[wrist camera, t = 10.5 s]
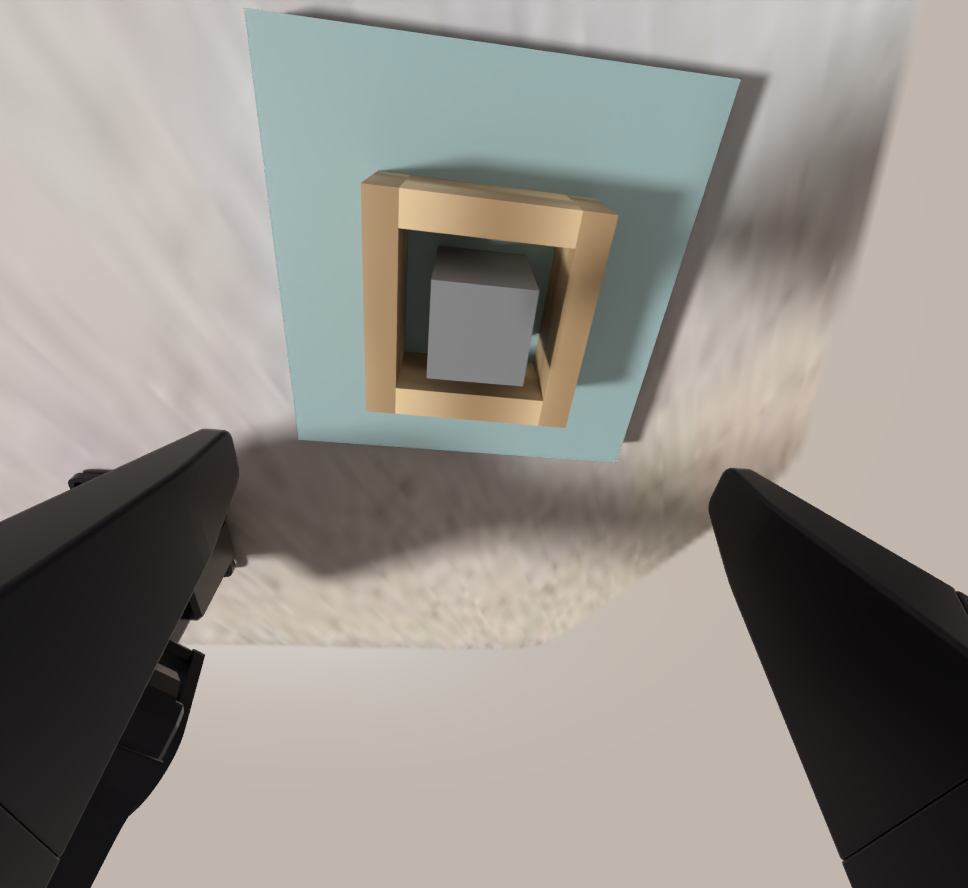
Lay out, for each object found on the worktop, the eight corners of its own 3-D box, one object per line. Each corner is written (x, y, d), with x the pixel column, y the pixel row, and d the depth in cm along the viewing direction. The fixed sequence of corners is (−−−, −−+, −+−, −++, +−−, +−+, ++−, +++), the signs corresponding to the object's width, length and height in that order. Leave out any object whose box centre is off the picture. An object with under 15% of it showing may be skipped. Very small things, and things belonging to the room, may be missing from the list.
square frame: (378, 372, 19) (365, 411, 17) (377, 170, 15) (360, 182, 13) (553, 388, 20) (565, 427, 17) (595, 198, 16) (618, 215, 14)
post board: (308, 421, 22) (266, 501, 18) (263, 16, 14) (169, -25, 10) (608, 444, 23) (642, 525, 19) (719, 81, 16) (822, 71, 11)
